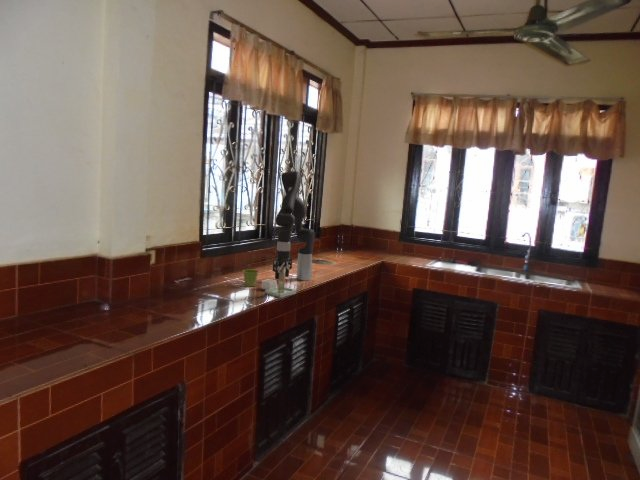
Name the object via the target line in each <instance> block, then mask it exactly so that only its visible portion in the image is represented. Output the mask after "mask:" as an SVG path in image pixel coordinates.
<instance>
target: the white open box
mask: <svg viewBox="0 0 640 480" xmlns="http://www.w3.org/2000/svg"><path fill="white" fill-rule="evenodd" d="M277 283H278V280H277V279H276V280H275V279H270V278H267V279H262V280H261V290H264V289H265V290H269V289H273V288H277V287H278V284H277ZM265 290H264V291H265Z"/></svg>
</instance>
